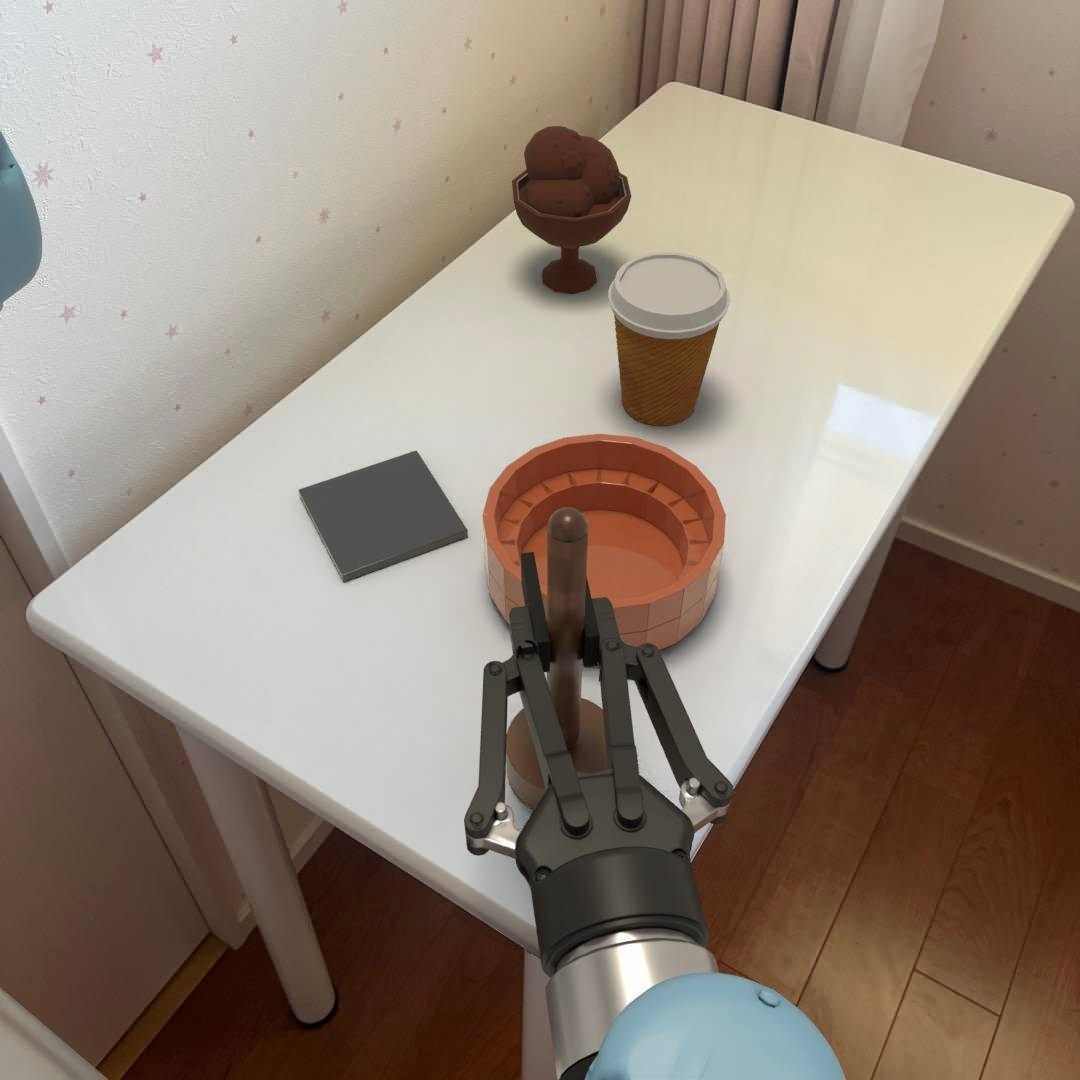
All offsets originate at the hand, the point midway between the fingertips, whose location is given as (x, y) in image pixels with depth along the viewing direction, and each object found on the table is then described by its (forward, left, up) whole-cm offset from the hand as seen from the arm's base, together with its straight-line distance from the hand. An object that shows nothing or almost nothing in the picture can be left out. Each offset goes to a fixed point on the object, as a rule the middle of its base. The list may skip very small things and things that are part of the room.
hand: (550, 566), depth 64 cm
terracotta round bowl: (+8, +8, -13) cm, 17 cm away
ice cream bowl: (+24, +43, -13) cm, 51 cm away
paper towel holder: (-2, -5, -13) cm, 14 cm away
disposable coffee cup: (+22, +23, -13) cm, 34 cm away
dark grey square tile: (-4, +21, -13) cm, 25 cm away
